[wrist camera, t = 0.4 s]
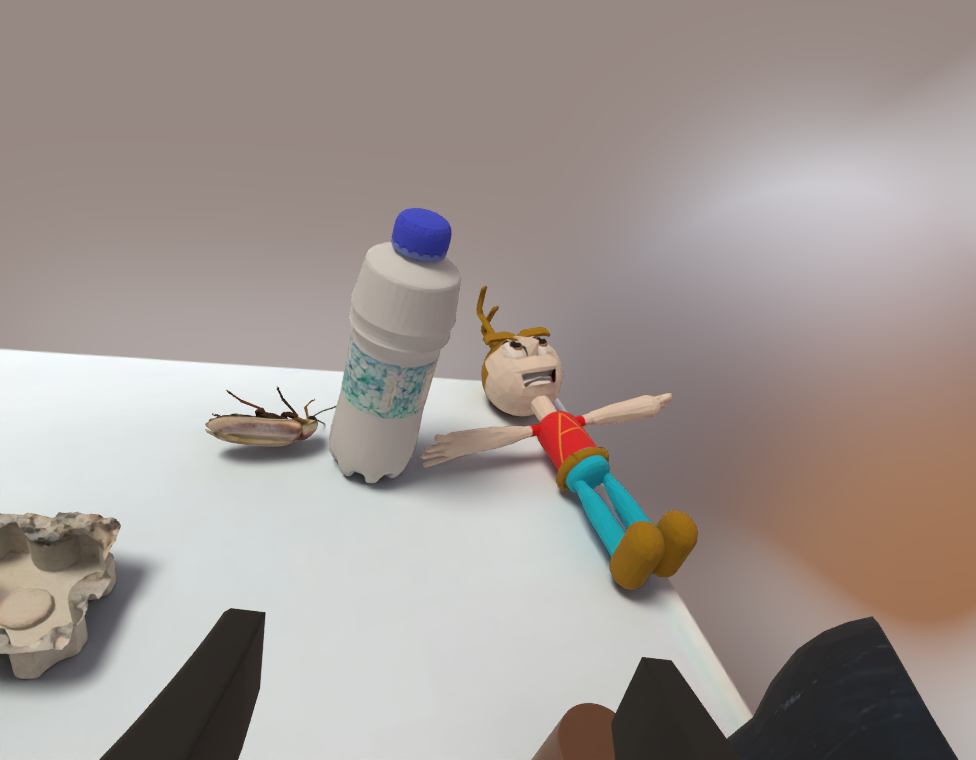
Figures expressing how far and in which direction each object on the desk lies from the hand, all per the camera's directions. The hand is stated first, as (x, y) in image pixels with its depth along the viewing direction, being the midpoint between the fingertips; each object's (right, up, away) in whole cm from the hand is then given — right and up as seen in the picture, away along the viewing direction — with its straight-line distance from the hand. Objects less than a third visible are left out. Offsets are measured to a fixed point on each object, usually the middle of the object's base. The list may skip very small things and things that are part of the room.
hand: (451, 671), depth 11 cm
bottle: (-9, -1, +34) cm, 35 cm away
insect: (-15, +4, +32) cm, 35 cm away
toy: (+13, -8, +29) cm, 32 cm away
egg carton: (-24, -6, +18) cm, 31 cm away
